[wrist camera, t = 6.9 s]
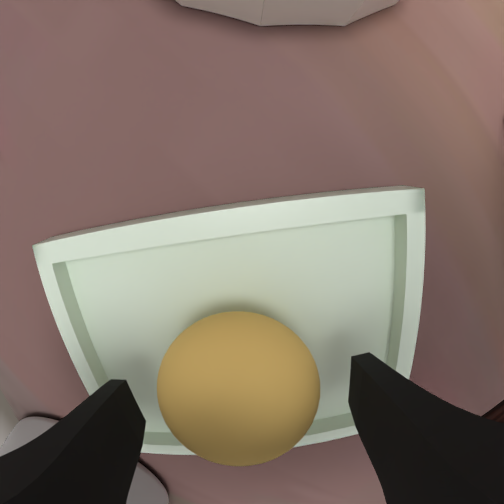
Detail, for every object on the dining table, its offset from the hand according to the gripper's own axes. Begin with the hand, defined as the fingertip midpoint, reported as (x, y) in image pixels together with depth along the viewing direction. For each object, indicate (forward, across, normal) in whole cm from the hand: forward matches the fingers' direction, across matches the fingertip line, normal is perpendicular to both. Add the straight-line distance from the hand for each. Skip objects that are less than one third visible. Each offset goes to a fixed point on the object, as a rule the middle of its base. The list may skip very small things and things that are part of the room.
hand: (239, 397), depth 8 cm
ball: (0, 0, 0) cm, 0 cm away
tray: (+3, 0, 0) cm, 3 cm away
